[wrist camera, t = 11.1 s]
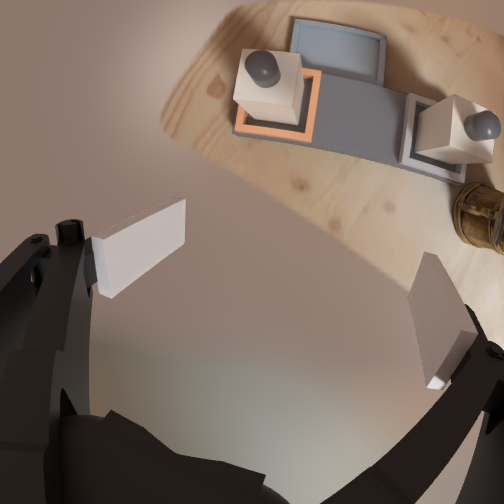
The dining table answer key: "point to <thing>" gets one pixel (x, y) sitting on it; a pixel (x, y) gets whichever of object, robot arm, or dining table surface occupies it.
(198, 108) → the dining table surface
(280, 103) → the bottle
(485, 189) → the wooden mug
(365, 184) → the dining table surface
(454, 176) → the grey base
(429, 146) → the twin plug
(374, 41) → the tray
